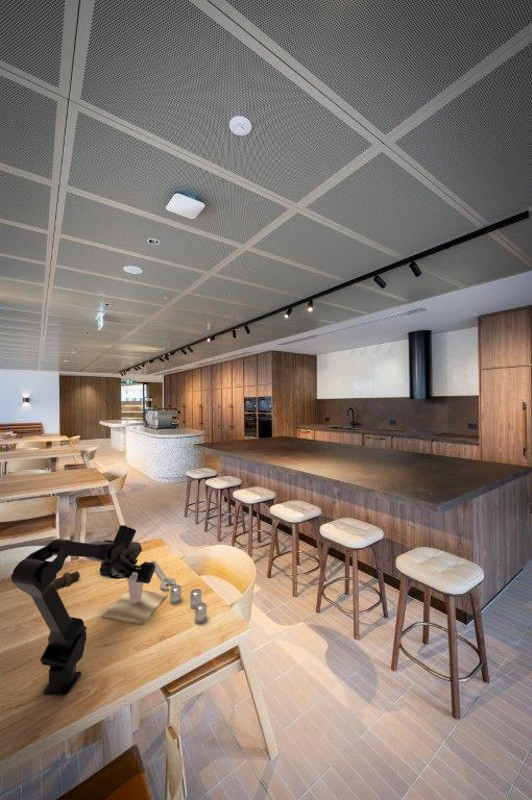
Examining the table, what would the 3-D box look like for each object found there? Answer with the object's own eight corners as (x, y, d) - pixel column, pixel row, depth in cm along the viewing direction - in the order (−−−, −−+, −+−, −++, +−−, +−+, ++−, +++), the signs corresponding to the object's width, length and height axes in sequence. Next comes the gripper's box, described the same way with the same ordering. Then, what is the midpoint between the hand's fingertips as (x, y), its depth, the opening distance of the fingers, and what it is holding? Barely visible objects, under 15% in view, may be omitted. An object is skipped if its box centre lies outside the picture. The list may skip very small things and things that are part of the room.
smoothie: (132, 593, 122) (133, 556, 122) (148, 595, 121) (148, 558, 121) (122, 604, 116) (122, 565, 116) (138, 606, 115) (139, 567, 115)
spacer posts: (199, 626, 109) (199, 611, 109) (168, 601, 122) (168, 588, 122) (217, 614, 115) (217, 600, 115) (185, 592, 128) (185, 579, 127)
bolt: (79, 584, 136) (37, 601, 124) (75, 574, 138) (33, 590, 126) (82, 574, 134) (40, 590, 122) (78, 565, 136) (36, 579, 125)
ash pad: (142, 625, 109) (142, 622, 109) (101, 617, 113) (101, 615, 113) (167, 596, 125) (167, 594, 125) (130, 590, 128) (130, 588, 128)
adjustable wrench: (149, 565, 149) (149, 561, 149) (163, 561, 152) (163, 557, 152) (161, 593, 127) (161, 589, 127) (178, 588, 130) (178, 584, 130)
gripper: (153, 541, 112) (169, 557, 123) (106, 535, 116) (125, 552, 127) (139, 576, 105) (157, 590, 116) (89, 568, 109) (112, 583, 120)
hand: (138, 577), depth 120 cm, fingers closed on smoothie, 6 cm apart
